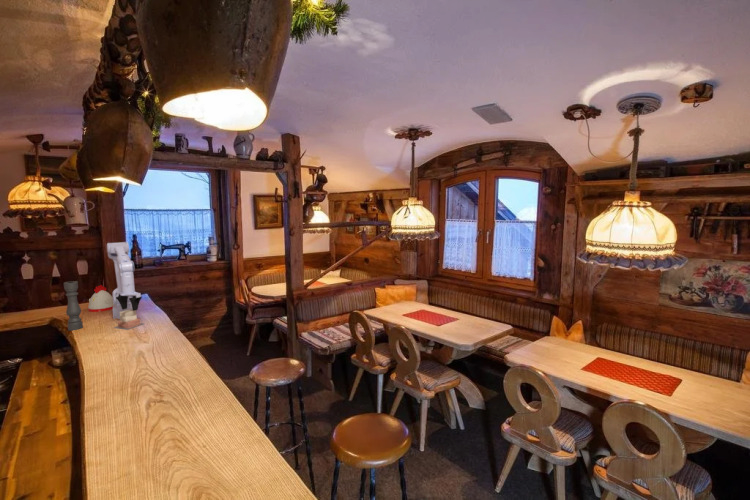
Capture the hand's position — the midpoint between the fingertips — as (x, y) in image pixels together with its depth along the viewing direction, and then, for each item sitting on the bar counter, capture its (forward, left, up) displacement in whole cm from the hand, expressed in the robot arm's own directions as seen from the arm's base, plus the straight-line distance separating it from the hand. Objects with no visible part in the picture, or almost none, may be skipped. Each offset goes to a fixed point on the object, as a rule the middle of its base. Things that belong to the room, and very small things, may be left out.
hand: (129, 309), depth 197 cm
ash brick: (0, -2, -5) cm, 6 cm away
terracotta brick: (0, -1, -8) cm, 8 cm away
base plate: (0, -1, -10) cm, 10 cm away
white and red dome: (-52, +22, -10) cm, 57 cm away
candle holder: (-27, -10, -10) cm, 30 cm away
